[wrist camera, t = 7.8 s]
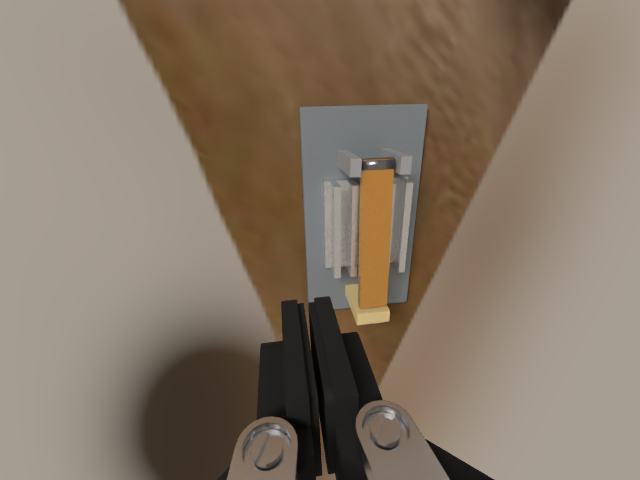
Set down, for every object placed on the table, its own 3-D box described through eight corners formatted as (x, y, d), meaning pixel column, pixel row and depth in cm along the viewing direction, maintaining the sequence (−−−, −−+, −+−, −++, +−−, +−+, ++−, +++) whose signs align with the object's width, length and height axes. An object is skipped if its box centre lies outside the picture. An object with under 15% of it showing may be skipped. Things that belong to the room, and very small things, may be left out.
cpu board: (299, 106, 30) (306, 107, 24) (423, 103, 32) (460, 103, 26) (308, 307, 40) (315, 345, 34) (403, 297, 42) (427, 331, 35)
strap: (359, 157, 28) (363, 159, 27) (390, 156, 29) (395, 157, 28) (357, 303, 34) (360, 309, 33) (383, 301, 34) (387, 306, 33)
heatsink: (321, 178, 33) (328, 187, 29) (403, 173, 34) (418, 182, 30) (323, 261, 37) (329, 279, 33) (396, 255, 38) (409, 271, 34)
